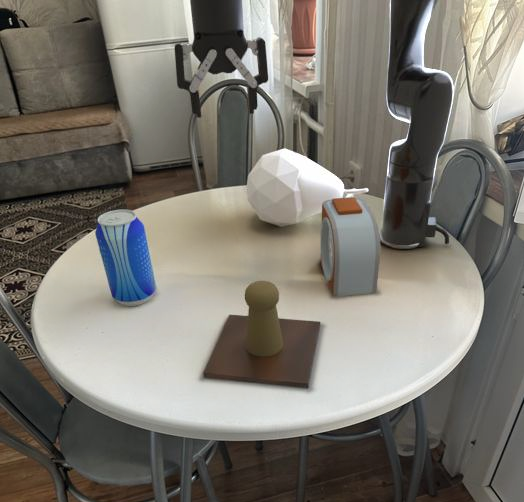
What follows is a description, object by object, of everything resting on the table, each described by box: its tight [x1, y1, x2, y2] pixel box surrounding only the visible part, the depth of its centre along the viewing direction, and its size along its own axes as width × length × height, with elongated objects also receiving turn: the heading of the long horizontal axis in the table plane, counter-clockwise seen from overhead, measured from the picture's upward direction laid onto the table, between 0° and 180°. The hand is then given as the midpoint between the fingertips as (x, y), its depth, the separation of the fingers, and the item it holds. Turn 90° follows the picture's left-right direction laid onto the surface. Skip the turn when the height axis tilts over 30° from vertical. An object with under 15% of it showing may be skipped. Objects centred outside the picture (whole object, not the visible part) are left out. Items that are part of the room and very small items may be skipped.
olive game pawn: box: [243, 280, 283, 357], centre depth 77 cm, size 6×6×11 cm
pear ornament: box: [246, 147, 369, 228], centre depth 117 cm, size 16×22×28 cm
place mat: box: [202, 314, 321, 389], centre depth 81 cm, size 16×16×1 cm
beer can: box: [94, 209, 157, 307], centre depth 91 cm, size 8×8×16 cm
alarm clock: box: [319, 196, 381, 298], centre depth 95 cm, size 15×8×14 cm, turn 5°
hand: (225, 114), depth 82 cm, fingers open, 8 cm apart
